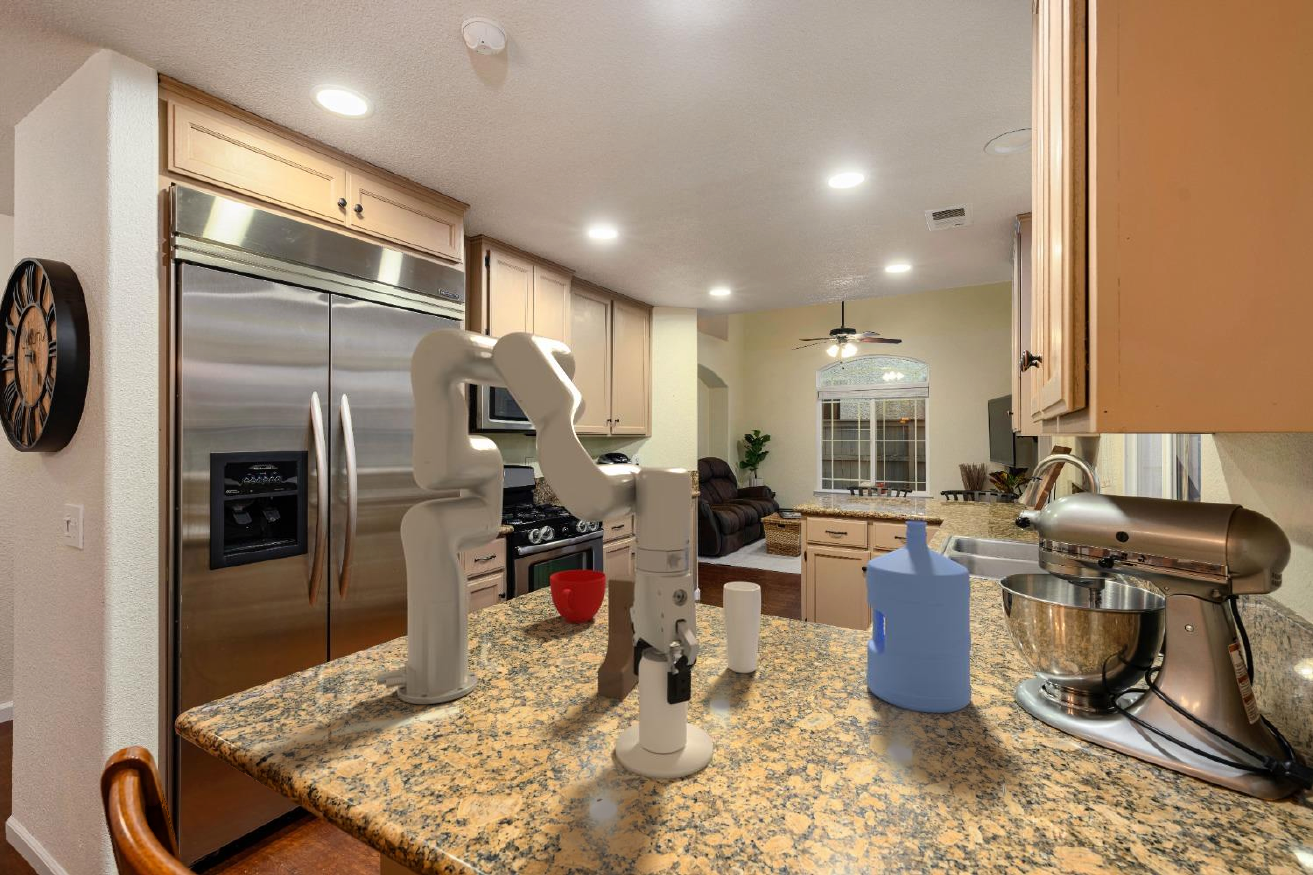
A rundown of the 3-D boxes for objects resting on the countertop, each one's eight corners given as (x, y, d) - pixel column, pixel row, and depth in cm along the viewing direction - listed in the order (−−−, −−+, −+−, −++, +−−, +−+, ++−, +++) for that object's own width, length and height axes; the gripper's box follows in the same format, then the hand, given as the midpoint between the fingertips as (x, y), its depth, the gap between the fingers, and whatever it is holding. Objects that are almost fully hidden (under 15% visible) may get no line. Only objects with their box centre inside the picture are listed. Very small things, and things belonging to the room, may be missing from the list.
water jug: (983, 691, 96) (982, 521, 96) (953, 726, 85) (952, 532, 85) (888, 667, 107) (887, 513, 107) (850, 694, 95) (849, 522, 95)
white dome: (642, 789, 69) (642, 781, 69) (600, 740, 81) (600, 732, 81) (732, 761, 75) (732, 753, 75) (681, 719, 87) (681, 712, 87)
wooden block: (622, 700, 93) (622, 587, 93) (596, 697, 94) (596, 585, 95) (641, 678, 102) (641, 575, 102) (617, 675, 103) (617, 573, 103)
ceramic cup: (535, 631, 127) (535, 585, 127) (560, 609, 144) (560, 568, 144) (593, 634, 125) (592, 587, 125) (612, 611, 142) (611, 570, 142)
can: (652, 760, 74) (651, 665, 74) (630, 737, 80) (630, 649, 80) (696, 748, 77) (696, 656, 77) (672, 726, 82) (672, 641, 83)
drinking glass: (719, 672, 104) (718, 588, 104) (729, 659, 111) (728, 580, 111) (756, 678, 102) (756, 592, 102) (764, 664, 108) (764, 583, 108)
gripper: (722, 570, 72) (720, 708, 73) (657, 546, 88) (655, 659, 88) (669, 576, 69) (667, 721, 69) (611, 550, 84) (609, 668, 84)
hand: (660, 686), depth 78 cm, fingers open, 9 cm apart
